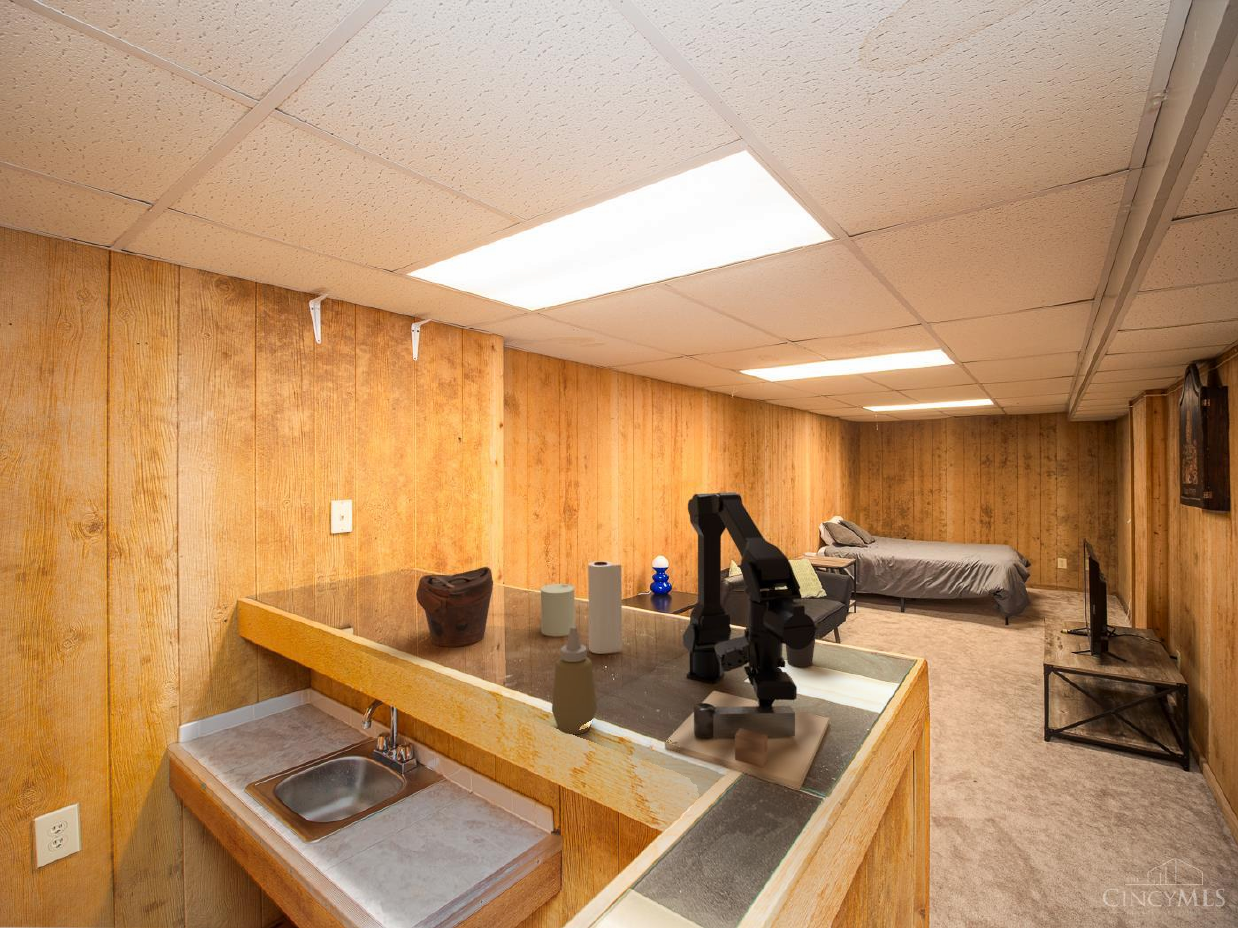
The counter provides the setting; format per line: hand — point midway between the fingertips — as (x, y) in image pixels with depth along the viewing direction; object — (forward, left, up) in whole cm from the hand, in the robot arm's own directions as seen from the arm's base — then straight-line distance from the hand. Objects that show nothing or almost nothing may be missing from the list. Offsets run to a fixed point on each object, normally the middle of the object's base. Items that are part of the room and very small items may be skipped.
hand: (763, 713), depth 98 cm
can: (-63, +24, -4) cm, 67 cm away
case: (-82, +6, -4) cm, 82 cm away
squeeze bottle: (-30, -15, -4) cm, 33 cm away
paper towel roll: (-45, +18, -4) cm, 49 cm away
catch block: (+1, -10, -3) cm, 11 cm away
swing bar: (-2, -4, -2) cm, 5 cm away
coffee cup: (-2, +34, -4) cm, 35 cm away
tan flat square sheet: (-2, -2, -4) cm, 4 cm away
